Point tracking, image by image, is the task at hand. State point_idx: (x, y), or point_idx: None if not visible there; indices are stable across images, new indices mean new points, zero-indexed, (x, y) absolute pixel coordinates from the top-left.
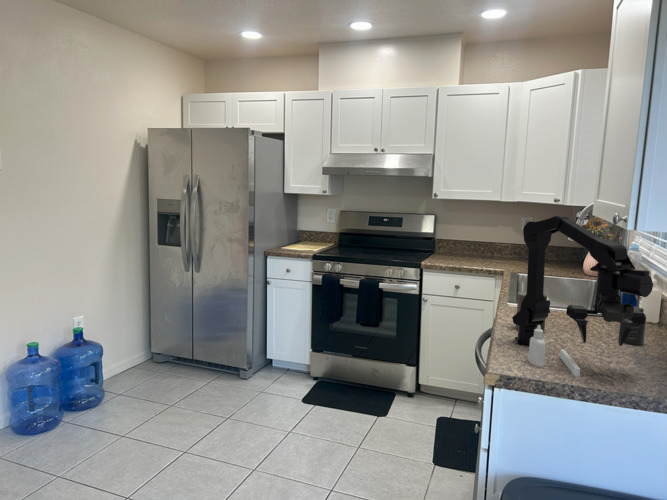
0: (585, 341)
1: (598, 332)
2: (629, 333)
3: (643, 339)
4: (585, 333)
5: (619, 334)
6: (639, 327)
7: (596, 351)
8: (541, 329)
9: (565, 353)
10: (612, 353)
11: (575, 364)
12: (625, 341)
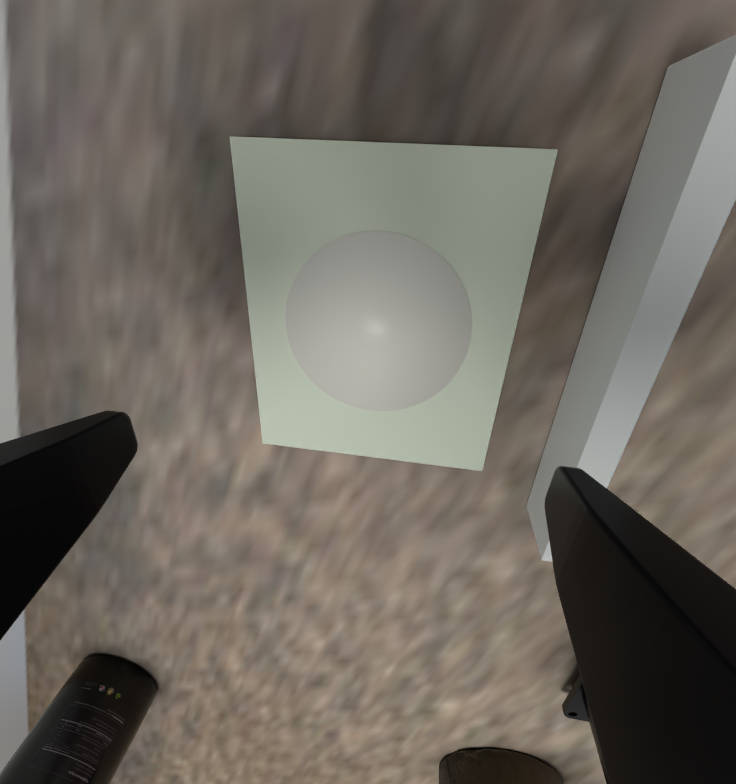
0: (573, 476)
1: (221, 743)
2: (101, 718)
3: (66, 682)
4: (678, 585)
5: (37, 577)
6: (37, 750)
7: (284, 606)
8: (467, 780)
9: None
10: (216, 588)
11: (687, 215)
12: (140, 678)
